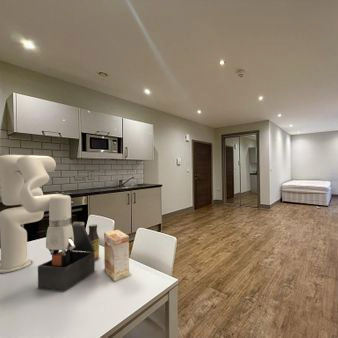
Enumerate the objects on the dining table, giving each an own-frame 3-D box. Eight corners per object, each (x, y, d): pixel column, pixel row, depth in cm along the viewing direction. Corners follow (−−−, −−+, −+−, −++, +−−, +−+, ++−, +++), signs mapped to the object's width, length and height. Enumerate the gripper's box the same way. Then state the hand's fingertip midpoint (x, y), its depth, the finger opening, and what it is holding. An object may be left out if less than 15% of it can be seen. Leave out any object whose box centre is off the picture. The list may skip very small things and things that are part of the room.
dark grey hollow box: (64, 291, 82) (64, 268, 82) (37, 288, 84) (37, 266, 84) (94, 271, 97) (94, 252, 97) (71, 269, 99) (71, 250, 99)
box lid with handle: (82, 226, 90) (90, 219, 95) (57, 225, 92) (66, 218, 97) (94, 252, 97) (101, 244, 101) (70, 250, 99) (78, 243, 103)
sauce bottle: (92, 263, 106) (91, 227, 106) (82, 262, 107) (82, 226, 107) (101, 257, 112) (101, 223, 112) (93, 256, 114) (92, 223, 114)
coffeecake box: (103, 270, 98) (103, 232, 98) (118, 264, 104) (118, 229, 104) (113, 281, 88) (113, 239, 88) (129, 275, 93) (129, 235, 93)
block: (60, 265, 84) (60, 256, 84) (51, 265, 85) (51, 255, 85) (69, 261, 89) (69, 251, 89) (61, 260, 89) (61, 251, 89)
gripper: (35, 224, 84) (36, 265, 84) (68, 225, 82) (69, 268, 82) (53, 220, 92) (53, 258, 92) (84, 221, 89) (84, 260, 89)
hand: (60, 262), depth 87 cm, fingers closed on block, 4 cm apart
